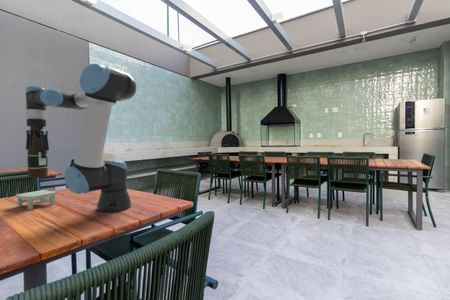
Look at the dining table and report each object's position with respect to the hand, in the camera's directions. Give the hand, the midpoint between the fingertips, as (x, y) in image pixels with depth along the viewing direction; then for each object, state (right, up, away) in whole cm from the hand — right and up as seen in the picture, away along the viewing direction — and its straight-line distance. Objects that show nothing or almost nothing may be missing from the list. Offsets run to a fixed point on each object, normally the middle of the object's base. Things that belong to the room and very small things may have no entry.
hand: (37, 164), depth 116 cm
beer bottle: (0, -6, 0) cm, 6 cm away
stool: (-1, -21, +1) cm, 21 cm away
